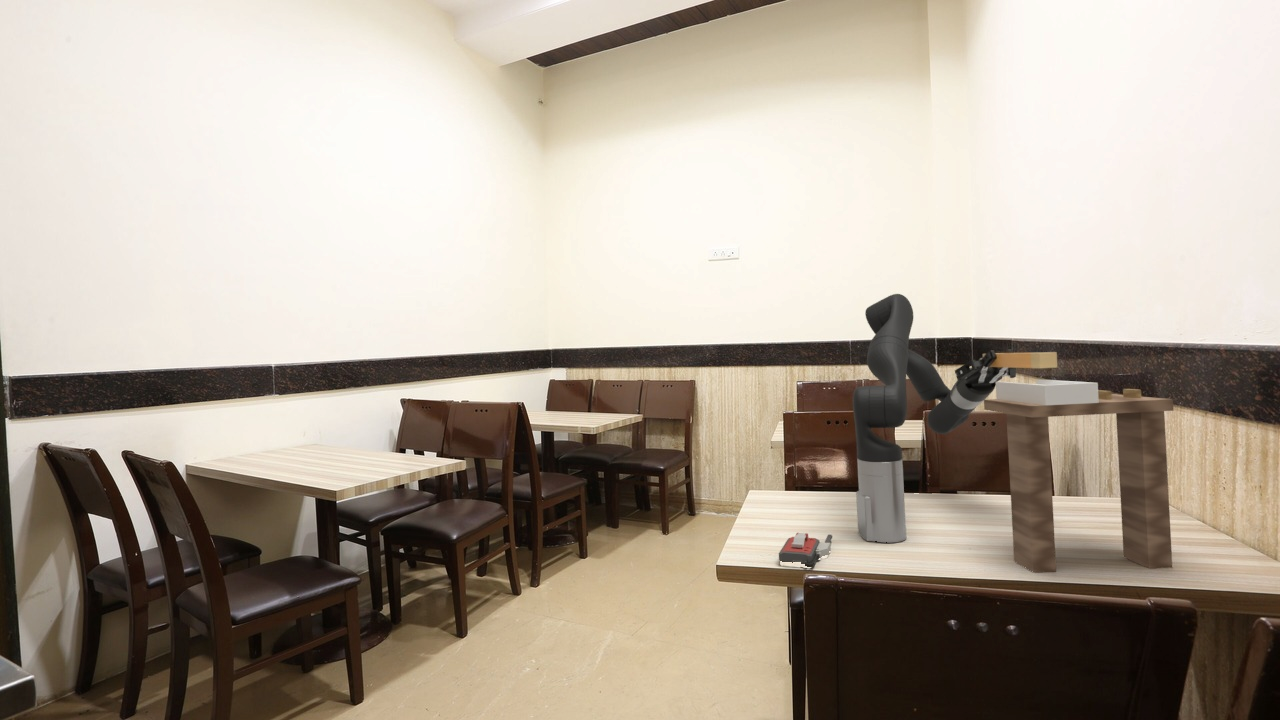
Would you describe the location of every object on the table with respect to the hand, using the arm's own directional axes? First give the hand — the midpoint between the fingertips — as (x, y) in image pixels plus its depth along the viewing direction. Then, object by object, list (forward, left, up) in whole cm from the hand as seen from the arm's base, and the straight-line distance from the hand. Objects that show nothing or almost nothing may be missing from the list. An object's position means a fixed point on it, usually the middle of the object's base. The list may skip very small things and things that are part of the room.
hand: (1002, 353), depth 135 cm
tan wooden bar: (0, -6, -3) cm, 6 cm away
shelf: (+1, -21, -39) cm, 44 cm away
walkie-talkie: (-47, -12, -39) cm, 63 cm away
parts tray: (-4, -21, -9) cm, 23 cm away
